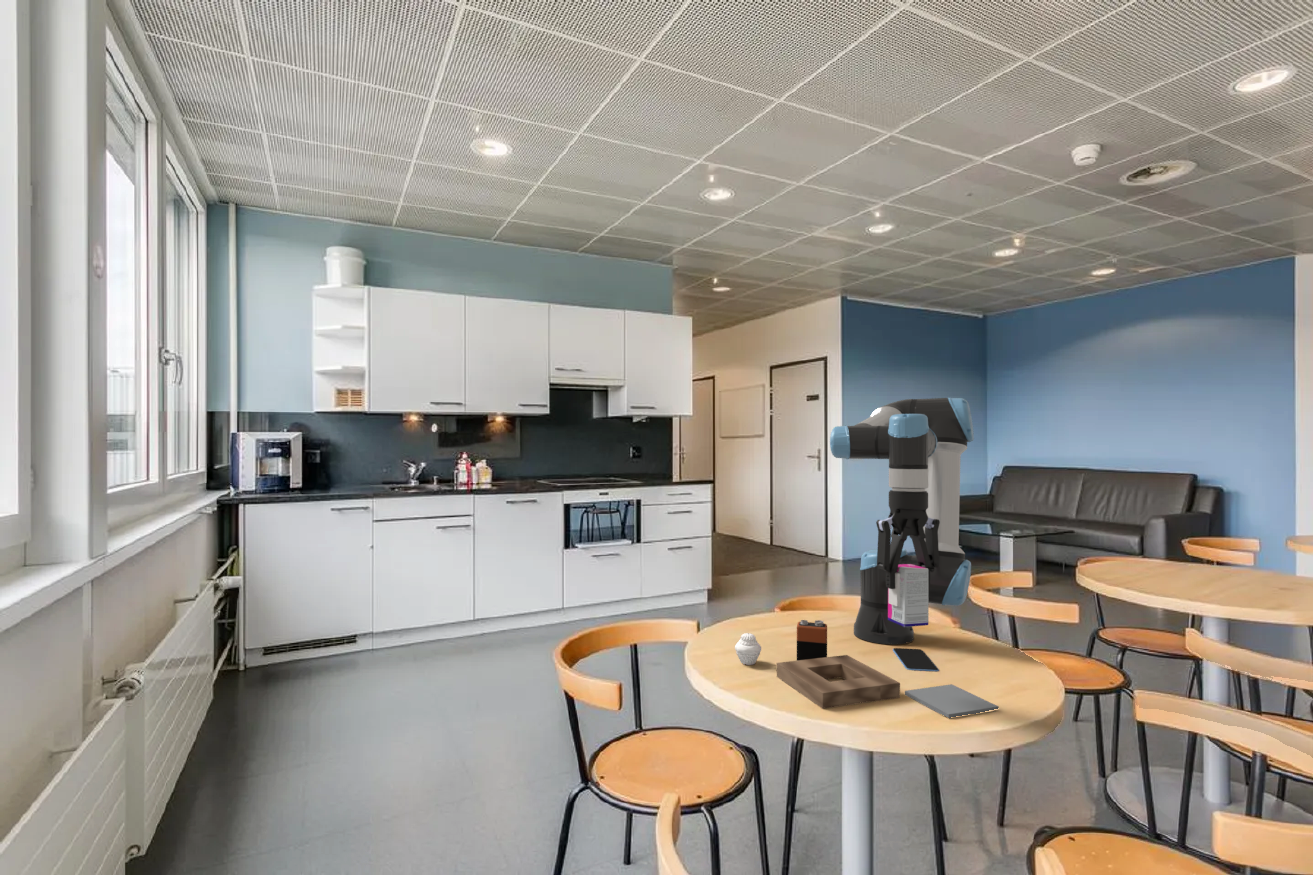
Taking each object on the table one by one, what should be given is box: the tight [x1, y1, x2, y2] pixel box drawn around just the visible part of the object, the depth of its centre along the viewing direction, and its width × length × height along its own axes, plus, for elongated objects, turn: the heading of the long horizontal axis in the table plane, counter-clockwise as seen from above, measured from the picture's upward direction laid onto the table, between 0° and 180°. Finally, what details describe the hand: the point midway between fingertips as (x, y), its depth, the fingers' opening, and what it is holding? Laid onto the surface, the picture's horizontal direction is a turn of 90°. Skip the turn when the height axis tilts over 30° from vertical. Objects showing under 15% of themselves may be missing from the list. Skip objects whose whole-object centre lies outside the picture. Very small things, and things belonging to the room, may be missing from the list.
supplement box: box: [888, 564, 929, 628], centre depth 130 cm, size 6×6×12 cm
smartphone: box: [892, 647, 940, 672], centre depth 152 cm, size 7×1×15 cm
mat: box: [904, 683, 999, 719], centre depth 127 cm, size 12×12×1 cm
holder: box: [776, 654, 901, 710], centre depth 135 cm, size 18×18×3 cm
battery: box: [796, 619, 828, 661], centre depth 149 cm, size 4×7×10 cm, turn 74°
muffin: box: [734, 632, 762, 666], centre depth 150 cm, size 6×6×7 cm
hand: (908, 603), depth 130 cm, fingers closed on supplement box, 6 cm apart
